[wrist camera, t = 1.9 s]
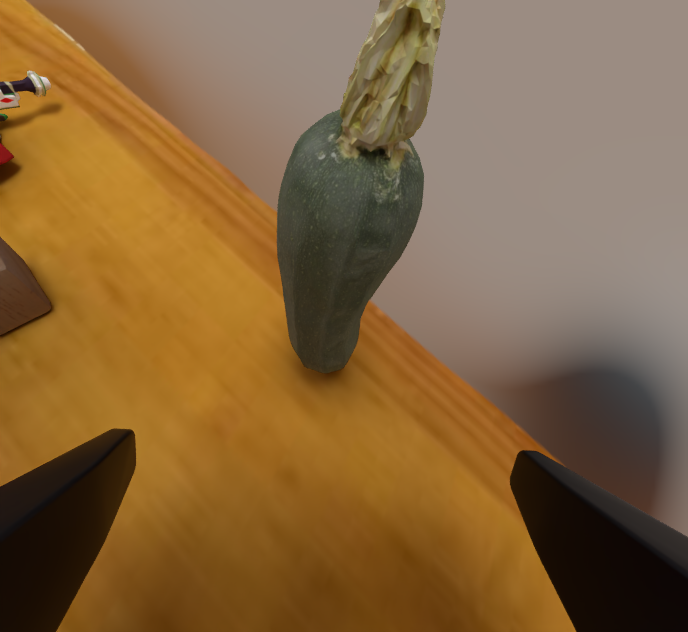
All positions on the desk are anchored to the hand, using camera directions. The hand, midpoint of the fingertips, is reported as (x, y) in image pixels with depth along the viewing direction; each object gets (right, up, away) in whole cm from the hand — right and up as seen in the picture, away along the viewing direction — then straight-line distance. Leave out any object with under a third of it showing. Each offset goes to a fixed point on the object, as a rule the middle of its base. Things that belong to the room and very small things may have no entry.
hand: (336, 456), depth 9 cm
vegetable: (-2, +1, +15) cm, 15 cm away
